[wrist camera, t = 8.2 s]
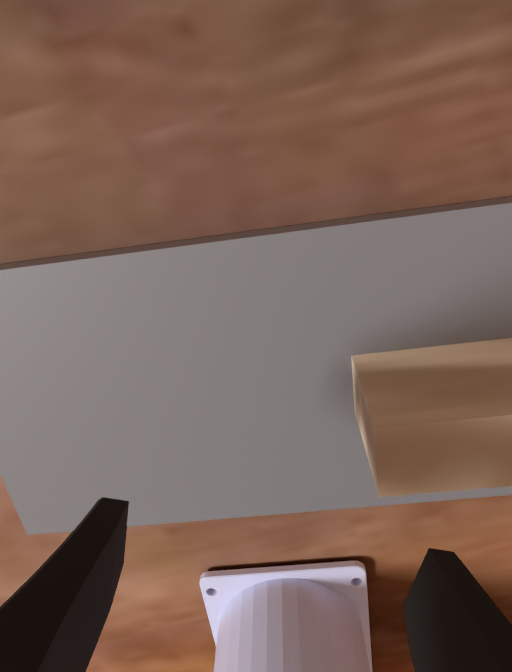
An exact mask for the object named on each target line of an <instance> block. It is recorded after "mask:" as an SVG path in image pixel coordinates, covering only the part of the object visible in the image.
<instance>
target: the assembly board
mask: <svg viewBox="0 0 512 672" xmlns="http://www.w3.org/2000/svg"><path fill="white" fill-rule="evenodd" d="M506 338H512V196H510V197H503V198H495V199H488V200H480V201H473V202H465V203H458V204H450V205H443V206H435V207H427V208H420V209H412V210H405V211H397V212H390V213H382V214H375V215H367V216H360V217H352V218H345V219H337V220H330V221H322V222H315V223H307V224H299V225H292V226H284V227H277V228H269V229H262V230H254V231H247V232H239V233H232V234H224V235H217V236H209V237H202V238H194V239H186V240H179V241H171V242H164V243H156V244H149V245H141V246H134V247H126V248H119V249H111V250H104V251H96V252H89V253H81V254H74V255H66V256H58V257H51V258H43V259H36V260H28V261H21V262H13V263H6V264H0V475H1V477H2V479H3V481H4V484H5V486H6V488H7V490H8V493H9V495H10V497H11V499H12V501H13V504H14V506H15V508H16V510H17V513H18V515H19V517H20V519H21V522H22V524H23V526H24V528H25V531H26V533H27V535H33V534H45V533H57V532H69V531H74V529H75V528H76V527H77V526H78V525H79V524H80V522H81V521H82V520H83V519H84V517H85V516H86V515H87V514H88V512H89V511H90V510H91V509H92V507H93V506H94V505H95V503H96V502H97V501H98V500H99V499H101V498H102V497H106V498H112V499H118V500H125V501H129V507H128V519H127V527H130V526H142V525H154V524H166V523H178V522H190V521H202V520H214V519H226V518H238V517H250V516H262V515H274V514H286V513H299V512H311V511H323V510H335V509H347V508H359V507H371V506H383V505H395V504H407V503H419V502H431V501H443V500H455V499H467V498H479V497H492V496H504V495H512V486H506V487H494V488H482V489H470V490H459V491H447V492H435V493H423V494H412V495H400V496H388V497H379V495H378V492H377V488H376V485H375V481H374V478H373V474H372V471H371V468H370V464H369V461H368V457H367V454H366V450H365V447H364V443H363V440H362V436H361V433H360V429H359V426H358V422H357V419H356V415H355V406H354V391H353V376H352V360H351V355H360V354H369V353H379V352H388V351H397V350H406V349H415V348H424V347H433V346H442V345H451V344H461V343H470V342H479V341H488V340H497V339H506Z"/></svg>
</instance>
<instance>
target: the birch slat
mask: <svg viewBox="0 0 512 672" xmlns="http://www.w3.org/2000/svg"><path fill="white" fill-rule="evenodd" d="M351 360H352V376H353V391H354V406H355V415H356V419H357V422H358V426H359V429H360V433H361V436H362V440H363V443H364V447H365V450H366V454H367V457H368V461H369V464H370V468H371V471H372V474H373V478H374V481H375V485H376V488H377V492H378V495H379V497H388V496H400V495H412V494H423V493H435V492H447V491H459V490H470V489H482V488H494V487H506V486H512V338H506V339H497V340H488V341H479V342H470V343H461V344H451V345H442V346H433V347H424V348H415V349H406V350H397V351H388V352H379V353H369V354H360V355H351Z"/></svg>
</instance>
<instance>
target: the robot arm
mask: <svg viewBox="0 0 512 672" xmlns="http://www.w3.org/2000/svg"><path fill="white" fill-rule="evenodd" d="M128 507H129V501H125V500H118V499H112V498H106V497H102V498H101V499H99V500H98V501H97V502H96V503H95V505H94V506H93V507H92V509H91V510H90V511H89V512H88V514H87V515H86V516H85V517H84V519H83V520H82V521H81V522H80V524H79V525H78V526H77V527H76V528H75V529H74V531H73V532H72V533H71V534H70V535H69V536H68V538H67V539H66V540H65V541H64V542H63V543H62V544H61V545H60V547H59V548H58V549H57V550H56V551H55V552H54V553H53V554H52V555H51V556H50V557H49V558H48V559H47V561H46V562H45V563H44V564H43V565H42V566H41V567H40V568H39V569H38V570H37V571H36V572H35V573H34V574H33V575H32V576H31V577H30V578H29V579H28V580H27V581H26V582H25V583H24V584H23V585H22V586H21V587H20V588H19V589H18V590H17V591H16V592H15V593H14V594H13V595H12V596H11V597H10V598H9V599H8V600H7V601H6V602H5V603H4V604H3V605H2V606H1V607H0V672H86V669H87V667H88V664H89V662H90V659H91V657H92V654H93V652H94V649H95V647H96V644H97V642H98V639H99V637H100V634H101V632H102V629H103V626H104V624H105V621H106V619H107V616H108V614H109V611H110V608H111V605H112V602H113V598H114V595H115V591H116V588H117V585H118V581H119V578H120V574H121V570H122V567H123V563H124V552H125V541H126V530H127V519H128ZM200 588H201V592H202V595H203V599H204V603H205V607H206V610H207V614H208V618H209V622H210V626H211V629H212V633H213V637H214V641H215V644H216V655H215V664H214V672H372V657H371V641H370V625H369V609H368V593H367V577H366V569H365V566H364V564H363V563H362V562H360V561H341V562H327V563H314V564H300V565H287V566H273V567H259V568H246V569H232V570H219V571H208V572H205V573H203V574H202V575H201V577H200ZM403 608H404V615H405V622H406V629H407V636H408V641H409V647H410V653H411V657H412V661H413V665H414V669H415V672H512V624H511V623H510V622H509V621H508V620H507V618H506V617H505V616H504V615H503V613H502V612H501V611H500V610H499V608H498V607H497V606H496V605H495V603H494V602H493V601H492V599H491V598H490V597H489V596H488V594H487V593H486V592H485V591H484V589H483V588H482V587H481V586H480V584H479V583H478V582H477V580H476V579H475V578H474V577H473V575H472V574H471V573H470V572H469V570H468V569H467V568H466V567H465V565H464V564H463V563H462V562H461V560H460V559H459V558H458V557H457V555H456V554H455V553H454V552H450V551H444V550H438V549H431V548H429V549H428V551H427V554H426V556H425V558H424V560H423V562H422V565H421V567H420V569H419V571H418V574H417V576H416V578H415V580H414V582H413V585H412V587H411V589H410V591H409V594H408V596H407V598H406V600H405V602H404V605H403Z"/></svg>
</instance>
